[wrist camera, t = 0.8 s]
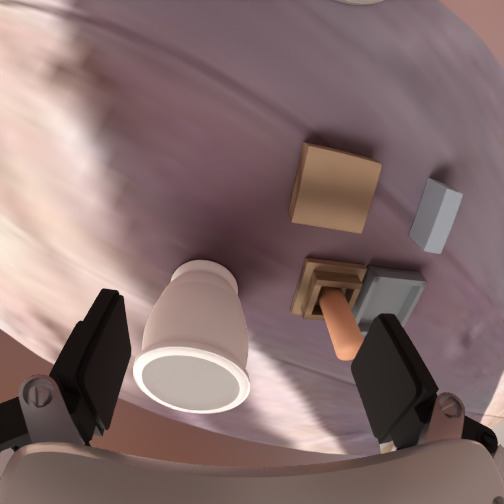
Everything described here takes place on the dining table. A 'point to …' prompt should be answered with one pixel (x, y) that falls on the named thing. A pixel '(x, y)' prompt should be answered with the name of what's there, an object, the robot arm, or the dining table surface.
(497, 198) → the dining table surface
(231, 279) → the jar
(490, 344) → the dining table surface
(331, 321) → the dowel
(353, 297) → the holder
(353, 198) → the tan wooden block
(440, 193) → the gray rectangular block
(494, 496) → the robot arm
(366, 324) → the tray
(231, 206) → the dining table surface
